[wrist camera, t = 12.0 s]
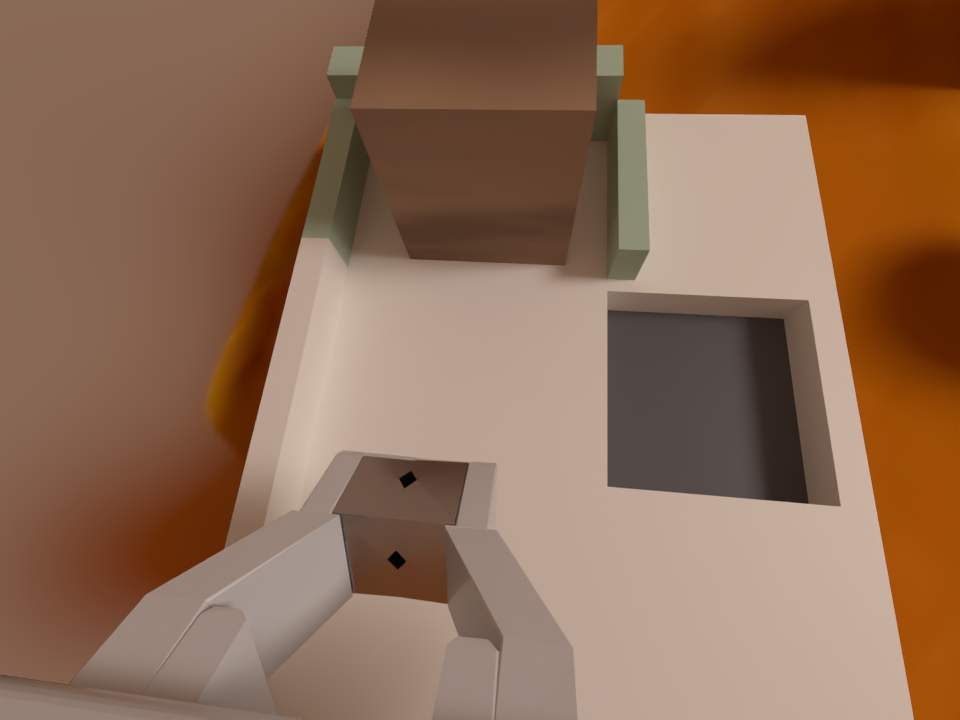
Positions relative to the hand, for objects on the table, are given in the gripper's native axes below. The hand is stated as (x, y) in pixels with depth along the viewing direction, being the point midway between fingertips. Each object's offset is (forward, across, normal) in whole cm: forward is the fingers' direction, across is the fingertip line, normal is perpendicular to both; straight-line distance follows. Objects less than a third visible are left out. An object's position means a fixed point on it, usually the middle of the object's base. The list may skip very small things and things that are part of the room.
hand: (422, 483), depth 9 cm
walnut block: (+13, 0, -4) cm, 13 cm away
